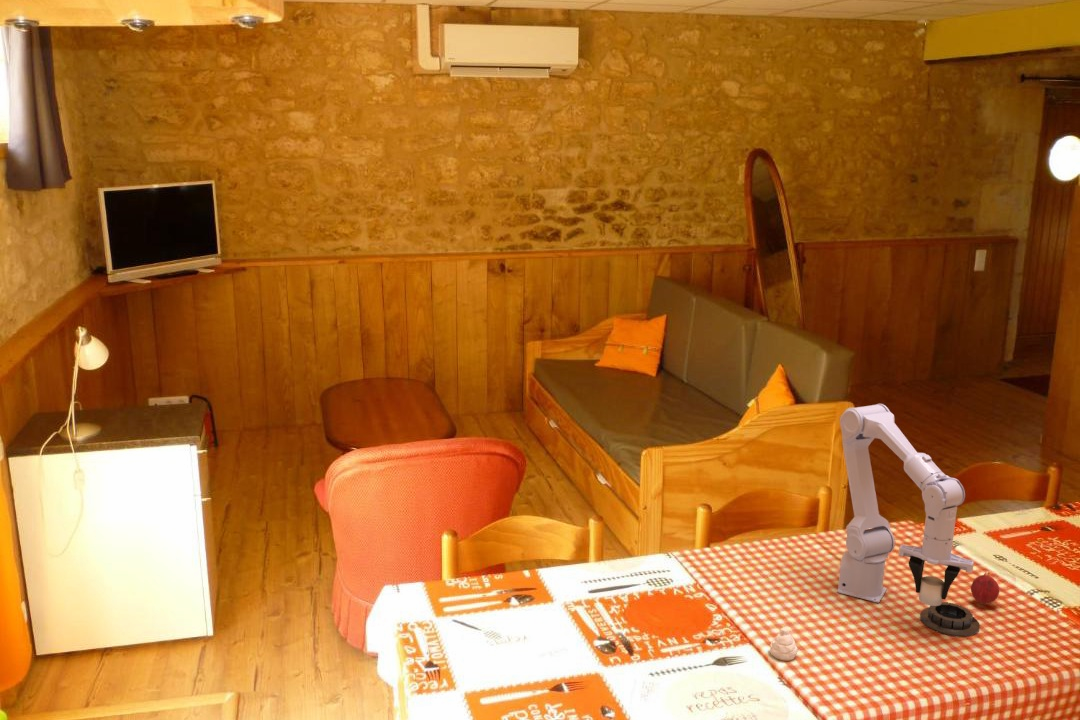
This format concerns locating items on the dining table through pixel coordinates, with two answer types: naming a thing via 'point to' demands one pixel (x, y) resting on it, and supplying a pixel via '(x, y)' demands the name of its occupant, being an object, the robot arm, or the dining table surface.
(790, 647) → the swirled meringue
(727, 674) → the dining table surface
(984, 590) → the onion
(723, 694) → the dining table surface
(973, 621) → the ridged round lid
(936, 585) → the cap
